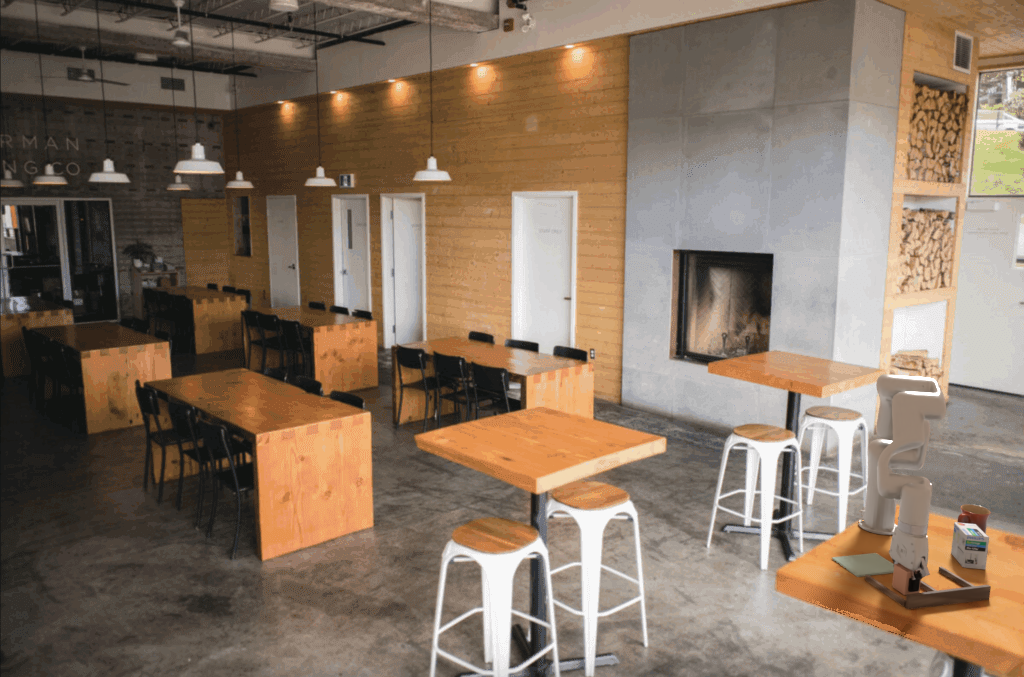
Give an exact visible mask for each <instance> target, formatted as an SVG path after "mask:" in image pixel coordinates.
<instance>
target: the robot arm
mask: <svg viewBox="0 0 1024 677" xmlns="http://www.w3.org/2000/svg"><path fill="white" fill-rule="evenodd" d="M876 390H877V394H878V397H879V408H878V413H877V414H878V415H877V421H876V427H875V428H876V429H875V430H876V434H877V436H878V437H879V438H877V439H873V440H871V441H870V442H869V444H868V445H867V460H868V461H867V464H868V466H867V467H868V468H867V470H868V471H867V484H866V495H865V506H864V507H862V509H859V510H858V513H859V514H860V515H862V516H861V517H862V518H860V519H859V520H858V526H859V527H860V529H862V530H864V531H867V532H870V533H872V534H876V535H877V534H878V535H882V536H891V535H892V537H891V541H890V545H889V546H890V548H889V550H888V554H889V557H890V558H891V560H892V561H891V562H892V563H893V564H901V565H903V566H904V567H906V568H908V569H909V570H910V571H911V578H909V586H908V591H909V592H915V591H919V585H920V579H921V580H922V579H924V578H925V577H928V576H930V575H931V574H930V571H929V568H928V561H929V538H928V527H929V521H930V512H931V504H932V503H931V502H932V495H933V484H932V483H931V481H930V479H928V477H925V476H921V475H914V474H913V475H911V474H905V473H903V474H902V473H896V472H895V473H894V472H893V469H894V470H897V469H898V470H907V471H908V470H909V471H920V470H921V469H922V468H923V467H924V465H925V462H926V457H927V451H928V447H929V442H930V437H931V436H930V435H931V424H930V421H931V422H932V421H933V422H934V421H935V422H939V421H942V420H944V418H945V416H946V413H947V405H946V404H947V403H946V397H945V396H944V393H943V390H942V388H941V385H940V383H939V382H938V380H936V379H935V378H932V377H927V376H926V377H925V376H914V375H913V376H912V375H904V374H903V375H902V374H901V375H900V374H888V373H886V374H885V373H884V374H880V376H879V377H877V380H876ZM898 501H899V510H898V516H897V520H898V521H897V524H896V523H895V520H896V513H897V512H896V511H897V502H898ZM862 520H864V521H862ZM859 522H860V523H859ZM893 566H894V565H893ZM916 570H917V574H915V571H916Z"/></svg>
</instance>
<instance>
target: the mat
mask: <svg viewBox="0 0 1024 677" xmlns="http://www.w3.org/2000/svg"><path fill="white" fill-rule="evenodd" d="M832 559H833V560H832ZM831 560H832V561H833V562H835V561H836V562H835V563H837V564H838V563H839V564H840V565H839V564H838V565H839V566H841V567H842V566H843V568H844V569H845V568H846V569H845V570H847V571H848V572H850V573H851V574H853V575H854V576H855V577H857V578H859V577H860V578H861V577H865V575H869V576H876V575H889V574H893V573H894V566H893V565H894V563H893V562H892V561H890V560H888V559H886V558H885V557H884V556H881V555H880V554H879V553H877V552H871V553H870V552H869V553H862V554H853V555H852V554H851V555H842V556H833V557H831Z"/></svg>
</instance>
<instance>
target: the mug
mask: <svg viewBox="0 0 1024 677" xmlns="http://www.w3.org/2000/svg"><path fill="white" fill-rule="evenodd" d="M960 511H961V513H960V514H959V515H958V516H957V521H956V522H959V523H968V524H976V525H977V526H978V527H979V528H980V529H981V530H982V531H983V532H984V533H985V534H986V535H987V527H988V519H989V517H990V515H991V514H992V512H991V511H990V510H989V509H988V508H986V507H985V506H981V505H976V504H962V505H961V506H960Z"/></svg>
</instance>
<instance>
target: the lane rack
mask: <svg viewBox="0 0 1024 677" xmlns="http://www.w3.org/2000/svg"><path fill="white" fill-rule="evenodd" d="M938 572H939V573H940V574H942V575H944V576H946V577H947V578H949V579H951V580H953V581H954V582H955V583H958V584H959V585H961V586H963V587H958V588H957V587H956V588H950V589H949V588H948V589H940V590H937V589H936V588H934V587H933V586H931V585H929V584H928V583H926V582H924V581H923V580H921V584H920V589H922V590H924V592H922V591H921V592H920V593H913V594H907V595H905V596H906V598H903V597H902V596H900V595H899V594H897V593H896V592H894V591H893V590H891V589H890V588H888V587H887V586H885V585H884V584H883V583H882V582H880V581H878V580H877V579H875V578H874V577H873V576H872V575H870V576H869V575H865V576H864V580H865V581H866V582H867V583H869V584H870V585H872V586H873V587H874V588H876V589H878V590H879V591H881V593H883V594H885V595H886V596H887V597H889V598H890V599H892V600H893V601H894V602H895V603H897V604H899V605H900V606H902V607H904V609H906V610H907V611H908V610H909V611H910V610H914V609H915V610H917V609H923V608H924V609H925V608H931V607H932V608H933V607H939V606H947V605H949V606H950V605H955V604H965V603H971V602H972V603H973V602H981V601H987V600H988V601H989V600H990V598H991V597H990V595H991V588H992V586H991V585H990V584H983V585H975V584H973V583H971V582H969V581H967V580H965V579H964V578H962V577H961V576H959V575H957V574H956V573H954V572H953V571H951V570H948V569H947V568H945V567H944V566H939V567H938Z"/></svg>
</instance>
